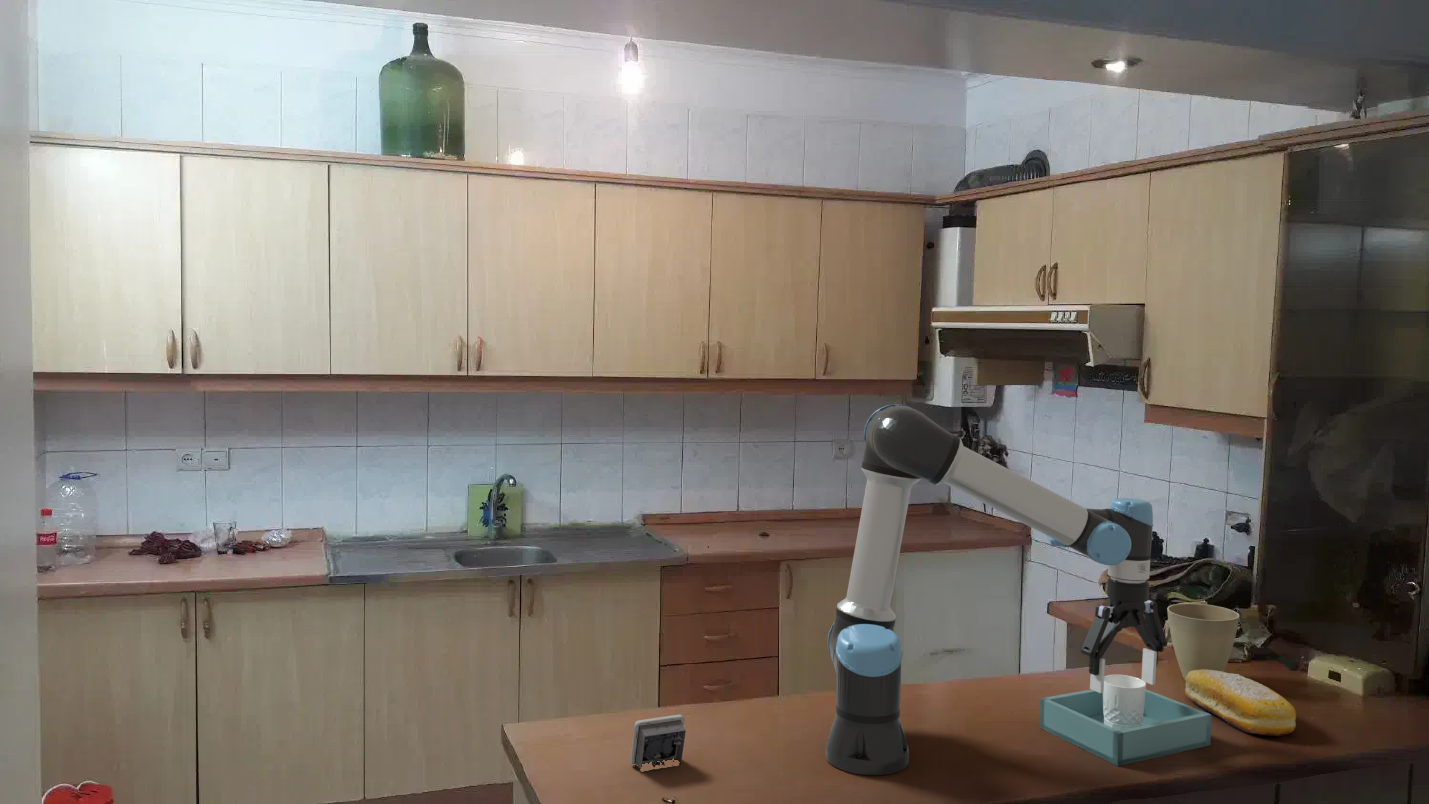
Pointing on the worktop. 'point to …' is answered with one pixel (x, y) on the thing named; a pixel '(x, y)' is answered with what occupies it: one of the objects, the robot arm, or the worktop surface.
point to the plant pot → (1202, 635)
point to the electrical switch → (658, 740)
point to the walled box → (1158, 736)
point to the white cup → (1123, 701)
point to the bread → (1241, 702)
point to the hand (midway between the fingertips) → (1122, 686)
